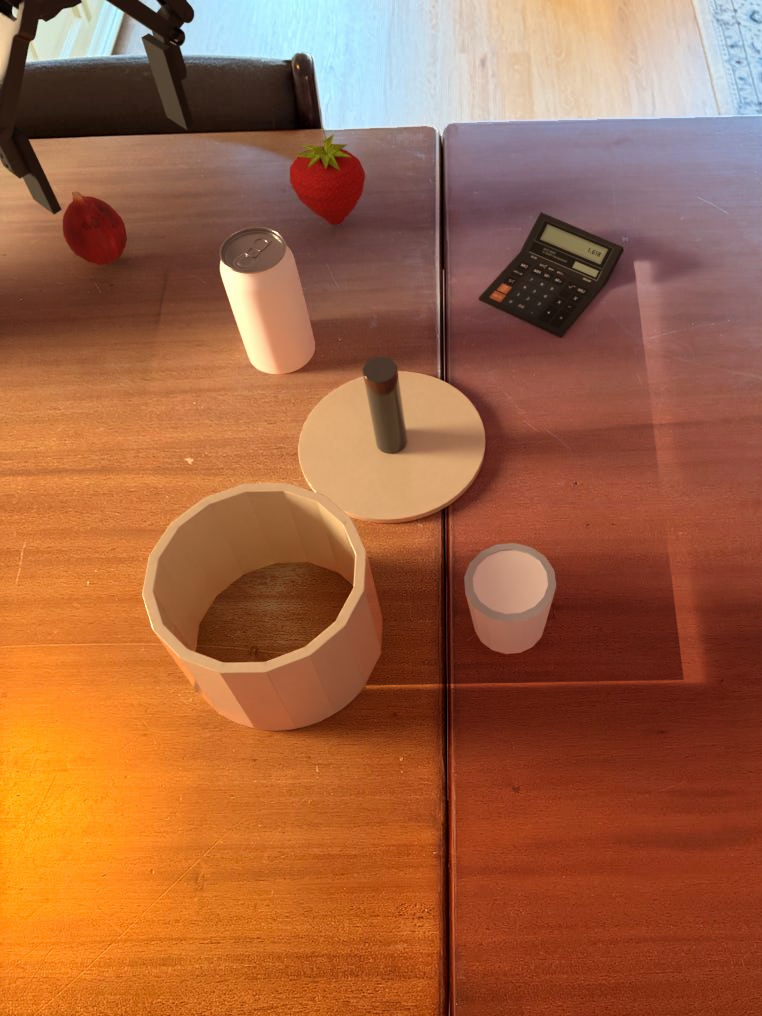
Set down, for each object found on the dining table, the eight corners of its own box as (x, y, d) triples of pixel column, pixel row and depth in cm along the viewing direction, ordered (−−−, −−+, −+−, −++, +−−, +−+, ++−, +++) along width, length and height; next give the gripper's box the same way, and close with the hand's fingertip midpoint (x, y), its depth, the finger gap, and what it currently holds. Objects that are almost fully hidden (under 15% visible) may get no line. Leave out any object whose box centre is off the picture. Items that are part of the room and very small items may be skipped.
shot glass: (527, 677, 73) (529, 636, 67) (451, 640, 75) (446, 596, 69) (566, 610, 76) (572, 564, 70) (492, 575, 77) (491, 528, 71)
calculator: (479, 304, 92) (478, 279, 89) (541, 234, 96) (542, 209, 93) (560, 342, 89) (562, 318, 86) (621, 269, 93) (624, 244, 91)
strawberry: (303, 204, 99) (283, 113, 90) (373, 203, 99) (361, 113, 90) (297, 243, 96) (276, 153, 87) (370, 242, 96) (356, 152, 87)
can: (236, 365, 89) (199, 262, 78) (271, 320, 91) (240, 214, 81) (294, 387, 87) (265, 285, 77) (328, 340, 90) (305, 235, 79)
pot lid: (293, 529, 80) (266, 454, 71) (307, 381, 88) (285, 296, 79) (486, 525, 80) (484, 449, 71) (484, 377, 87) (482, 291, 78)
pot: (176, 732, 72) (127, 674, 62) (201, 559, 79) (161, 484, 69) (378, 729, 71) (360, 670, 62) (386, 556, 79) (370, 480, 69)
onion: (145, 245, 97) (116, 176, 89) (126, 285, 94) (95, 216, 87) (92, 240, 97) (59, 170, 90) (71, 279, 95) (36, 210, 87)
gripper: (-157, -45, 52) (16, 265, 71) (189, -209, 60) (261, 107, 79) (-226, -93, 54) (-41, 220, 73) (116, -244, 62) (203, 72, 81)
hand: (116, 162), depth 76 cm, fingers open, 13 cm apart
